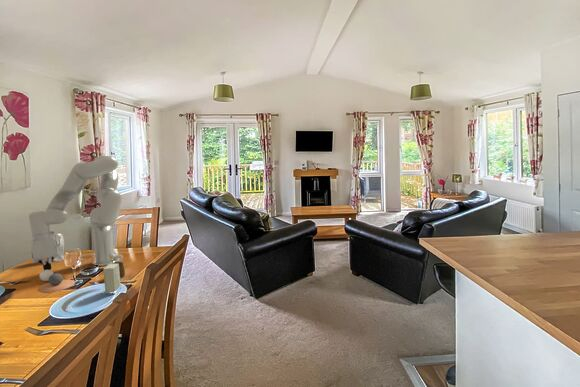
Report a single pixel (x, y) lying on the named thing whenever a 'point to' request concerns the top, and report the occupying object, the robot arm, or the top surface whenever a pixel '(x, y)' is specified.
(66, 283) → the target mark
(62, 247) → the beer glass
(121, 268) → the utensil holder
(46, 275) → the cue ball
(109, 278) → the skincare box
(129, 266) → the top surface
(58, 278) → the object ball
